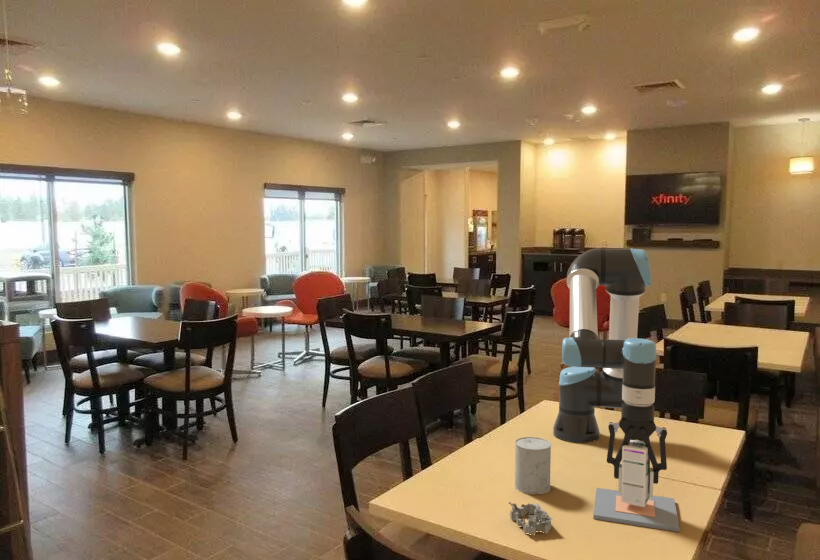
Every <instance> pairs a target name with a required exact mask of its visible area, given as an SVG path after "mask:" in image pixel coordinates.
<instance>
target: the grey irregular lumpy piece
mask: <svg viewBox="0 0 820 560" xmlns="http://www.w3.org/2000/svg"><path fill="white" fill-rule="evenodd" d="M508 504H509V505H510V506H511V508H512V509H511V510H510V511H509V512H510V513H509V516H510V517H509V518H511V519H512V520H516V521H515V522H516V524H517V525H518V526H521V527H523V528H522V530H523V531H522V533H523V532H524V533H529V534H531V535H534V534H536V535H537V533H536V531H542V532H544V533H548V534H549V533H550V531H551V530H552V521H553V520H554V518H552V517H551V516H549V514H548V512H547V511H545V510H544V509H543V508H542V506H541V505H540V504H539V503H538V502H537V503H536V502H535V503H534V502H533V503H529V502H528V503H527V504H524V503H522V504H521V505H520V507H519V506H518V505H517V503H512V502H511V501H509V502H508ZM525 513H530V514H534V515H530V514H527V515H528V518H527V519H528V523H526V522H525V518H520V517H519V516H523V517H525V516H526V514H525ZM524 515H525V516H524ZM511 519H510V520H511ZM522 519H523V520H522ZM512 520H511V521H512ZM539 520H540V521H539ZM516 524H515V525H516ZM518 526H517V527H518ZM550 529H551V530H550ZM549 530H550V531H549ZM524 533H523V534H524ZM544 533H543V534H544ZM531 535H530V536H531Z"/></svg>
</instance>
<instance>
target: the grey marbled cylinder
mask: <svg viewBox="0 0 820 560" xmlns="http://www.w3.org/2000/svg"><path fill="white" fill-rule="evenodd" d="M514 445H515V447H514V448H515V451H514V452H515V458H514V459H515V460H514V461H515V464H514V470H515V471H514V489H515V490H517V489H518V490H519V491H518V490H517V491H518V492H520V491H521V493H522V492H524V493H523V494H525V493H527V494H526V495H530V494H541V495H545V494H547V492H548V493H549V492H550V491H551V455H552V453H551V452H552V450H551V449H552V443H551V442H550V441H549V440H548V439H545V438H541V437H534V436H527V437H520V438H518V439H516V440H515V443H514ZM544 493H545V494H544Z"/></svg>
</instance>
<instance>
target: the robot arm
mask: <svg viewBox="0 0 820 560" xmlns="http://www.w3.org/2000/svg"><path fill="white" fill-rule="evenodd" d="M649 259H650V258H649V254H648V253H647V251H646V250H645V249H642V248H641V249H640V248H632V247H630V248H599V247H598V248H592V249H588V250H586V251H583V252H582V253H581V254H579V255H578V256H577V257H575V259H574V260H573V261H572V263H571V264H570V266H569V267H568V270H567V274H566V286H567V287H568V289H569V337H564V338H562V344H561V346H562V347H561V362H562V364H563V365H564V366H568V367H565V368H563V369H562V370H561V371H560V374H559V382H558V386H559V390H558V391H559V392H558V393H559V396H558V413H557V416H556V419H555V420H554V421H555V422H554V424H553V431H552V432H553V435H554V437H556V438H558V439H560V440H563V441H566V442H571V443H592V442H596V441H598V440H599V439H600V428H599V425H598V421H597V418H596V415H595V410H596V409H595V407H596V408H609V409H610V408H611V409H621V417H620V419H619V421H618V422H612V421H610V422H609V423H608V426H607V427H608V432H609V438H608V439H609V440H608V445H607V447H608V448H607V452H606V453H607V455H606V463H607V464H610V465H613V478H614V479H615V480H616V479H617V480H618V490H617V491H618V493H621V483H622V446H624V445H628V444H629V442H630V440H637V441H643V442H644V443H645V446H646V447H647V448H648V455H649V458H650V465H651V466H650V480H649V497H651V498H653V496H654V484H656V485H657V484H658V483H659V475H660V474H659V472H661V471H666V470H667V469H668V466H667V465H668V463H667V462H668V461H667V449H666V447H667V446H666V438H667V436H668V429H667V428H666V427H664V426H663V427H660V426H657V425H656V423H655V405H654V403H655V399H656V395H655V394H656V368H657V367H656V366H657V365H656V363H657V356H658V355H657V344H656V343H655V341H653V340H650V339H647V338H639V337H638V326H639V312H640V311H639V309H640V297H642V296H643V295H644V294H645V292H646V288H648V287H650V286H651V285H652V273H651V265H650V260H649ZM599 286H602V287H603V286H605V292H606V293H607V294H608V295H609V296H610V305H609V323H608V324H609V325H608V326H609V327H608V339H605V338H603V339H601V338H599V335H598V334H599V333H598V331H599V330H598V311H597V308H598V307H597V288H598V287H599ZM596 368H598V369H599V368H601V369H602V371H597V369H596ZM619 428H620V430H621V431H622V432H623V433H624V435H623V439H622V441H621V444H620V446H619V448H618V451H617V454H616V456H615V457H614V456H613V455H614V448H615V438H616V433H617V432H618V429H619ZM655 432H656V436H657V437H658V439H659V451H660V452H659V457H660V462H658V461H657V458H656V455H655V452H654V448H653V446H652V442H651V439H650V437H651V436H652V434H654V433H655Z"/></svg>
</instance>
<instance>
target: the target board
mask: <svg viewBox="0 0 820 560" xmlns="http://www.w3.org/2000/svg"><path fill="white" fill-rule="evenodd" d="M595 489H596V490H595V497H594V498H595V499H594V507H593V517H592V519H593V520H599V521H604V522H605V521H607V522H612V523H620V524H625V525H631V526H637V527H645V528H652V529H657V530H665V531H669V530H671V532H676V531H679V532H680V525H679V519H678V513H677V508H676V503H675V497H673V498H672V497H668V496H667V497H666V496H659V495H653V498H651V497H649V500H648V502H647V504H646V506H645V507H640V506H635V505H631V504H627V503H624V502H621V493H618V490H617V489H610V488H601V487H596V488H595Z"/></svg>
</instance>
